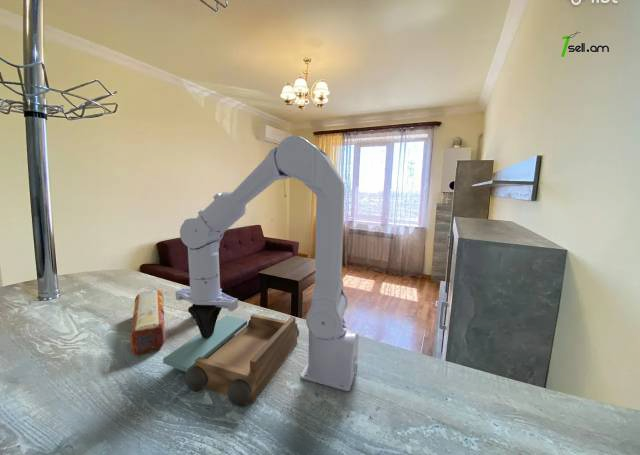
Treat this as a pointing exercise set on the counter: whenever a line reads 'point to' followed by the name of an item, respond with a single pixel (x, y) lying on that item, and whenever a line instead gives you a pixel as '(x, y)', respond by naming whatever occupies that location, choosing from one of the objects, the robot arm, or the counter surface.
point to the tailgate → (204, 344)
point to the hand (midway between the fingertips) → (207, 335)
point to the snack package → (148, 323)
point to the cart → (246, 360)
